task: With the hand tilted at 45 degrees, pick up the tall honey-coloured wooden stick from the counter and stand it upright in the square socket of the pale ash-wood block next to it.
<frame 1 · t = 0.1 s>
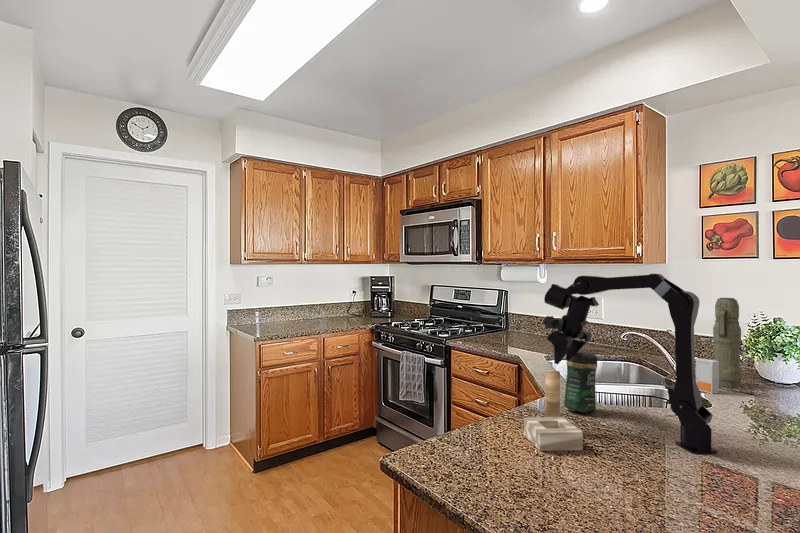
hand: (562, 361, 133), 17 cm above the worktop, tool tilted 15°, fingers open, 8 cm apart
thermos: (726, 386, 170), on the worktop
socket block: (551, 441, 112), on the worktop
wooden stick: (552, 427, 122), on the worktop
skincare box: (707, 392, 161), on the worktop
coffee jar: (580, 410, 137), on the worktop, touching gripper
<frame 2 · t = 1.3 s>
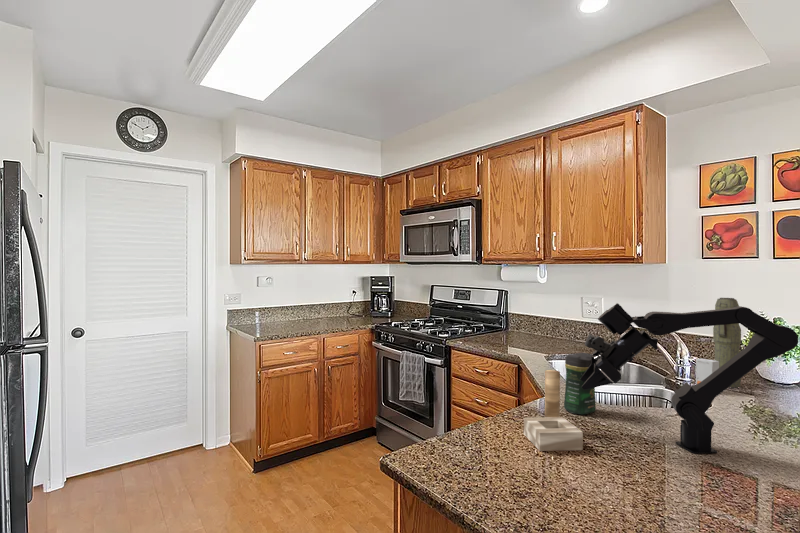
hand: (582, 384, 118), 13 cm above the worktop, tool tilted 45°, fingers open, 9 cm apart
coffee jar: (580, 411, 137), on the worktop
everything else where it was.
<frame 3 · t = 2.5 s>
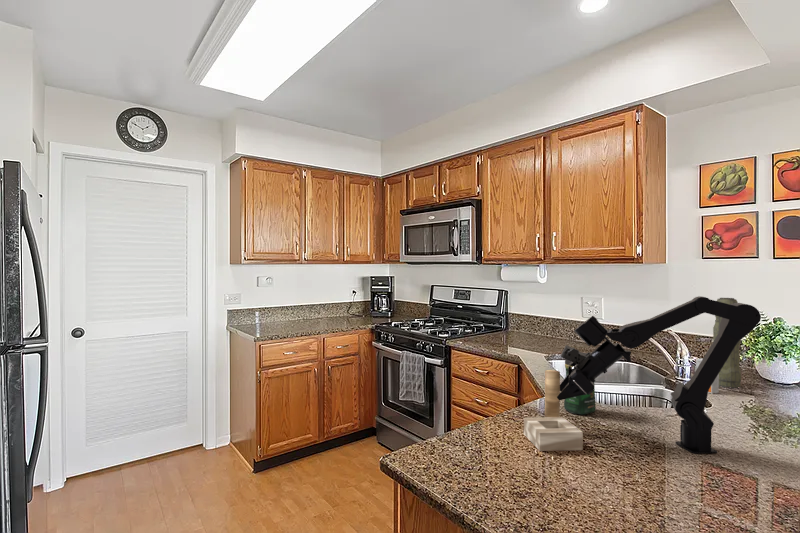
hand: (558, 394, 121), 10 cm above the worktop, tool tilted 45°, fingers open, 9 cm apart
nothing on the worktop moved.
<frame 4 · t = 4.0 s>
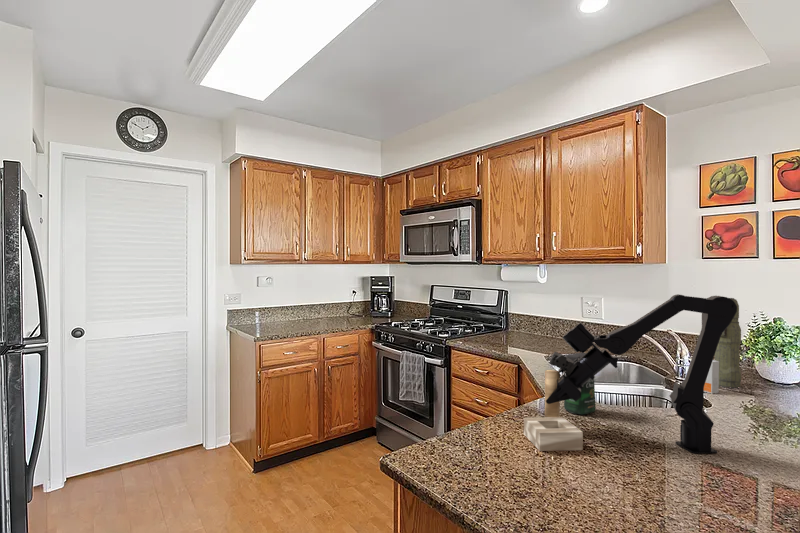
hand: (547, 400, 123), 8 cm above the worktop, tool tilted 45°, fingers closed on wooden stick, 4 cm apart
wooden stick: (552, 427, 122), on the worktop, touching gripper
everything else where it was.
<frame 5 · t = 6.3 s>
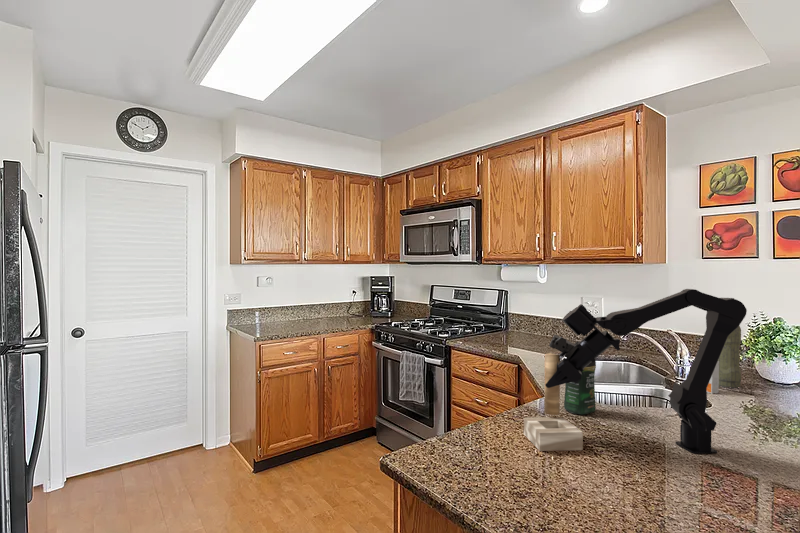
hand: (546, 384, 119), 13 cm above the worktop, tool tilted 45°, fingers closed on wooden stick, 4 cm apart
wooden stick: (552, 412, 118), point 5 cm above the worktop, touching gripper
everything else where it was.
when the fingers open (9 cm above the worktop, at t = 8.5 s): wooden stick drops 1 cm, resting in socket block.
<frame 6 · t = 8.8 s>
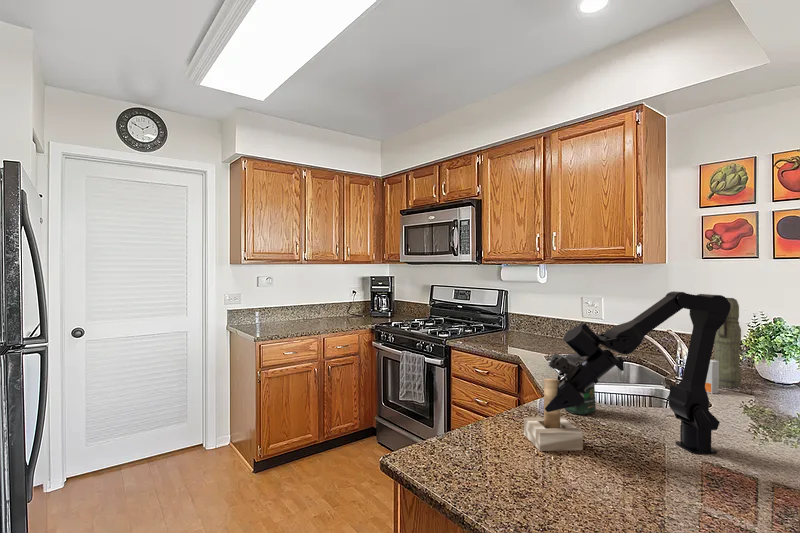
hand: (546, 406, 112), 9 cm above the worktop, tool tilted 45°, fingers open, 7 cm apart
wooden stick: (552, 441, 112), resting in socket block
everything else where it was.
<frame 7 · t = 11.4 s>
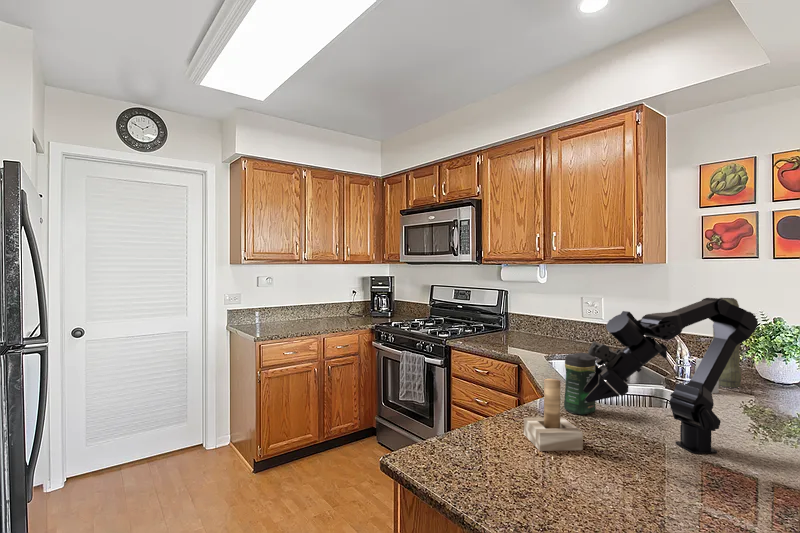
hand: (585, 395, 109), 13 cm above the worktop, tool tilted 45°, fingers open, 9 cm apart
nothing on the worktop moved.
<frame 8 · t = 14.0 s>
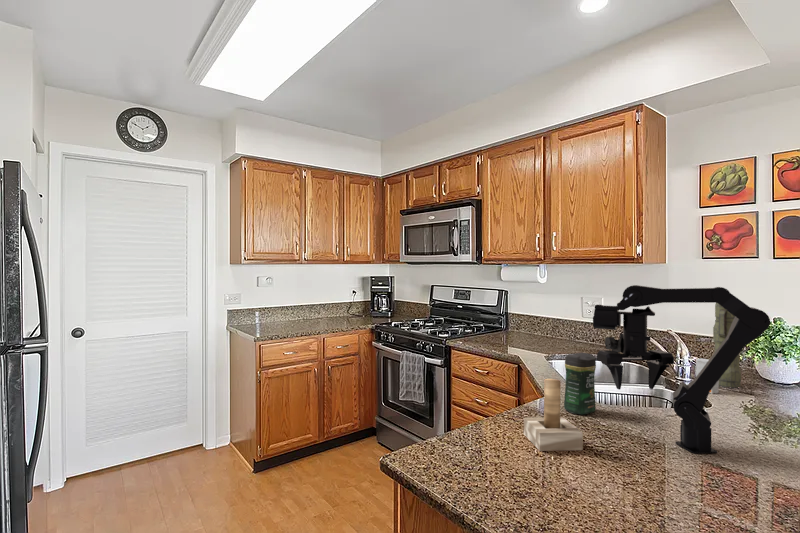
hand: (634, 389, 116), 13 cm above the worktop, tool pointing down, fingers open, 9 cm apart
nothing on the worktop moved.
at the end: wooden stick 0.0 cm off-centre on the socket block, point 0.0 cm above the socket block's base; wooden stick tilted 0°; the gripper is holding nothing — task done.
